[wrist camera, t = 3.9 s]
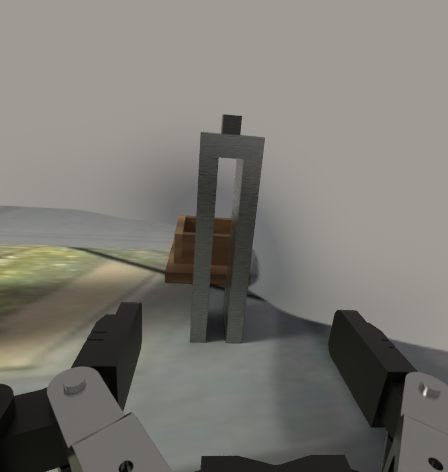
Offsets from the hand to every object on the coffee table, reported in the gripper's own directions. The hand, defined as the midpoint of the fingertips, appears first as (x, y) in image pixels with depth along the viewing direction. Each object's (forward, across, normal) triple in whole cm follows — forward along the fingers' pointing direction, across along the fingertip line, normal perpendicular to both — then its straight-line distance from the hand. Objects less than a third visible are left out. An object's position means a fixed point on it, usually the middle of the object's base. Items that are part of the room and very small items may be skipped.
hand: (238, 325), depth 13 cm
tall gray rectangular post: (+11, 0, +8) cm, 14 cm away
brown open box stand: (+25, 0, +8) cm, 26 cm away
